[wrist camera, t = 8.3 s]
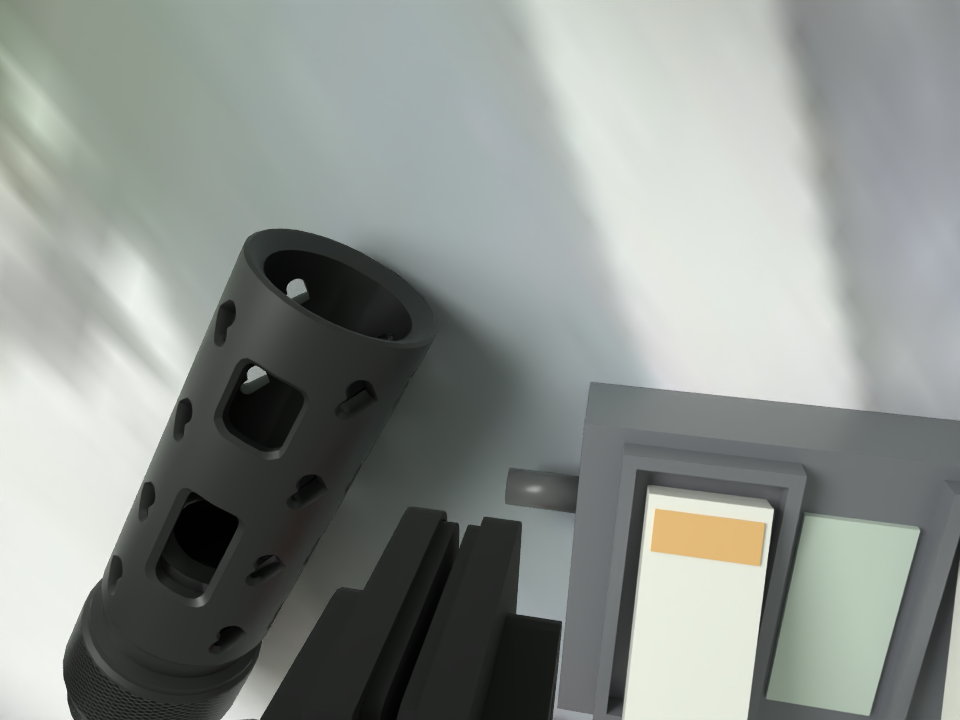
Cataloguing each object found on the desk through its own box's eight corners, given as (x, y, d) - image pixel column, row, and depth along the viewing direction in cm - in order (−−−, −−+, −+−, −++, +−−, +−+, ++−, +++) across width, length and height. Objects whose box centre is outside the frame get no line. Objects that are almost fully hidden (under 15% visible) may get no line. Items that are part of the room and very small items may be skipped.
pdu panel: (520, 374, 39) (501, 425, 34) (1128, 438, 35) (1225, 509, 29) (504, 632, 45) (485, 713, 39) (1027, 716, 40) (1091, 821, 35)
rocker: (647, 484, 34) (649, 494, 32) (766, 499, 33) (774, 510, 32) (619, 742, 35) (619, 765, 34) (733, 763, 34) (739, 787, 33)
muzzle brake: (467, 304, 39) (411, 379, 29) (259, 664, 49) (169, 804, 40) (302, 206, 39) (192, 248, 29) (130, 588, 49) (8, 710, 40)
